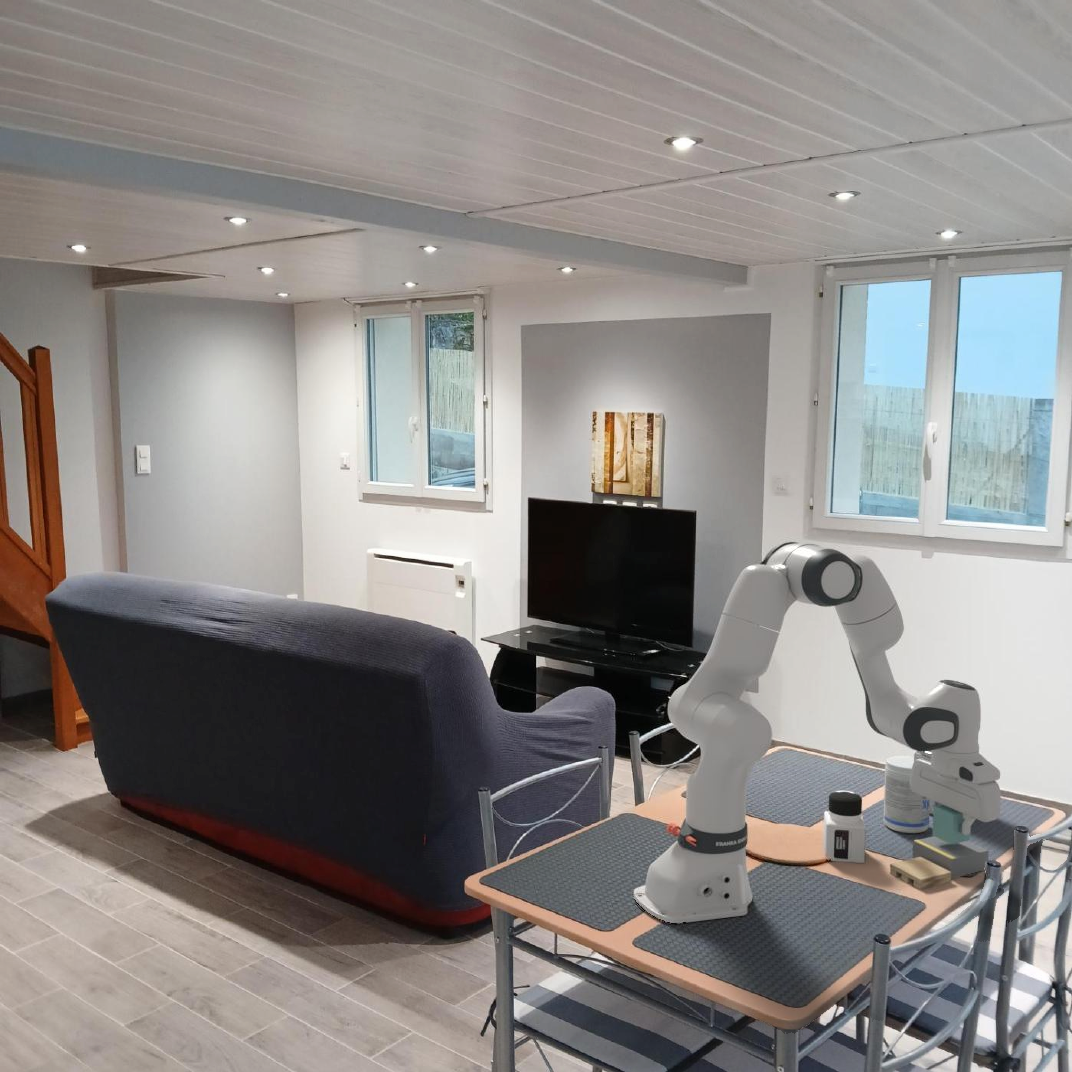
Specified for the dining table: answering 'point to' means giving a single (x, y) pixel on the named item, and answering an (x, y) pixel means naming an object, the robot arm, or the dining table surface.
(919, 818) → the supplement tub
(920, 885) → the pallet
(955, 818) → the teal block
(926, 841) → the block
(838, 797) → the container
